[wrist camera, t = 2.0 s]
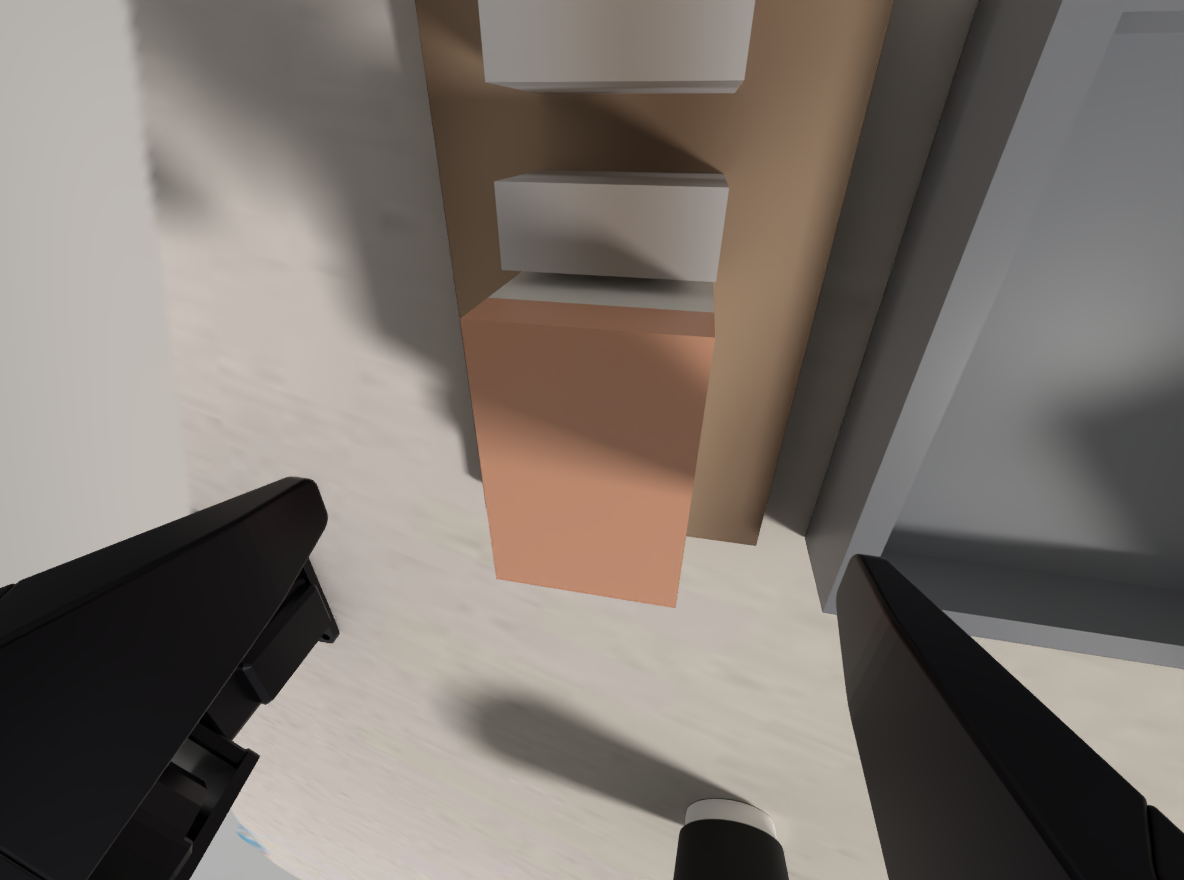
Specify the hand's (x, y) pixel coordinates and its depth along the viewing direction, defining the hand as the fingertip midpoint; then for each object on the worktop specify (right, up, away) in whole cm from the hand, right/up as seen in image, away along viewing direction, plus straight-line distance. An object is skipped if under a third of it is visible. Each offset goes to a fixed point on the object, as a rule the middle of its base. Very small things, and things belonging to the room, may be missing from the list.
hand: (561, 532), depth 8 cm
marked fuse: (+1, +3, +5) cm, 6 cm away
